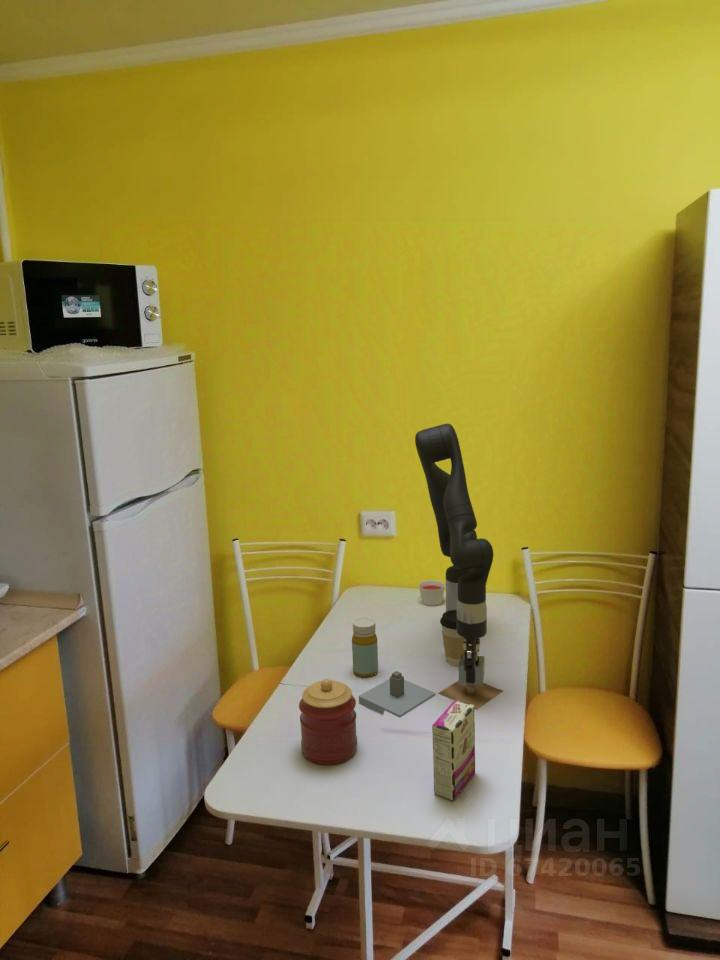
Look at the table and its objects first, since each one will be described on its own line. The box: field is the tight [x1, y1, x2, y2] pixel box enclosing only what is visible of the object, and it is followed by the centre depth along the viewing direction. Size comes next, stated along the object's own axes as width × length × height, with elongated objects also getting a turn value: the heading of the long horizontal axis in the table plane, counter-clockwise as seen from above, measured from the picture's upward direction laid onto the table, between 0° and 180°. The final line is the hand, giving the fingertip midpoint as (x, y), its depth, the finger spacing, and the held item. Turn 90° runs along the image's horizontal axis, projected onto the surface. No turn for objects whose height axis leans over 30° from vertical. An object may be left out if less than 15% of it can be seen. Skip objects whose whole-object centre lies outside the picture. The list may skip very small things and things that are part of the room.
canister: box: [298, 678, 358, 766], centre depth 165 cm, size 13×13×18 cm
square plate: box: [358, 670, 437, 718], centre depth 186 cm, size 14×14×8 cm
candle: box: [418, 579, 446, 607], centre depth 249 cm, size 9×9×6 cm
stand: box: [437, 679, 504, 711], centre depth 187 cm, size 12×12×6 cm
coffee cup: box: [439, 610, 464, 667], centre depth 203 cm, size 10×10×15 cm
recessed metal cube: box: [458, 654, 486, 685], centre depth 186 cm, size 6×6×5 cm
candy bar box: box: [431, 700, 476, 801], centre depth 152 cm, size 11×5×16 cm, turn 148°
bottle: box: [351, 617, 379, 678], centre depth 201 cm, size 7×7×15 cm
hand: (471, 676), depth 186 cm, fingers closed on recessed metal cube, 6 cm apart
